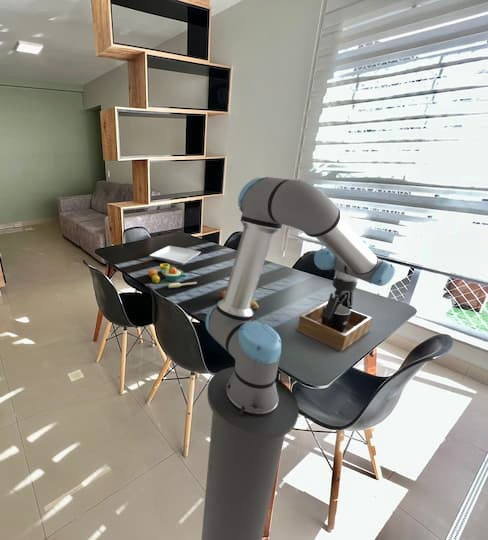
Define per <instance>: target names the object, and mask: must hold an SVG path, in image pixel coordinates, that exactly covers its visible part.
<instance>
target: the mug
mask: <svg viewBox="0 0 488 540" xmlns="http://www.w3.org/2000/svg"><path fill="white" fill-rule="evenodd" d="M326 305H327V304H326ZM326 305H325V306H324V309H323V312H324V310H325V308H326ZM350 314H351V311H350V310H349V309H348V308H346V307H344V306H342V304H341V305H339V306H338V308H337V310H336V312H335V313H334V316H333V317H332V319H333V321H332V325H331V328H332V329H334V330H336V331H339V332H341V333H342V332H343V331H344V329H345V327H346V325H347V322H348V320H349V317H350ZM323 322H324V318H323V317H322V324H323Z"/></svg>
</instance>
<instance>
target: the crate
mask: <svg viewBox="0 0 488 540" xmlns="http://www.w3.org/2000/svg"><path fill="white" fill-rule="evenodd" d="M328 301H329V300H327V301H325V302H324V303H321V304H320V305H318V306H316V307H314V308H312V309H311V310H309V311H307V312H304V313H303V314H301V315H299V320H298V325H297V329H296V330H297V331H298V332H299V333H302V334H304V335H306V336H309V337H310V338H312V339H314V340H316V341H319V342H321V343H322V344H324V345H326V346H329V347H331V348H332V349H335V350H337V351H339V352H343V351H344V350H346V349H347V348H348V347H350V346H351V345H352V344H354V343H355V342H356V341H358V340H359V339H360V338H362V337H363V336H364V335H366V334H367V333H369V329H370V327H371V323H372V320H373V317H372V316H370V315H367V314H365V313H361V312H358V311H356V310H353V309H351V310H350V309H349V310H350V311H351V314H350V317H349V320H348V322H347V325H346V327H345V329H344V331H343V332H342V333H341V332H339V331H336V330H334V329H332V328H329V327H327V326H325V325H323V324H322V315H323V309H324V306H325V305H326V304H327V303H328Z"/></svg>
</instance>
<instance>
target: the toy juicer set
mask: <svg viewBox="0 0 488 540" xmlns="http://www.w3.org/2000/svg"><path fill="white" fill-rule="evenodd" d="M170 266H171V265H170V263H167V262H165V263H160V264H159V269H160V273H161V274H162V275H163V277H164V278H165V279H166V280H167V281H168V282H171V283H168V284H167V287H168V289H177V288H180V287H183V286H188V285H189V286H190V285H197V284H198V283H197V282H198V281H191V282H185V283H181V282H178V280H180V279H181V278H186V277H187V273H186V272H184V271H183V270H181V269H180V268H179V269H178V268H176V267H175V266H172V267H170ZM148 277H149V278H151V281H152V283H154V284H158V283H159V282H160V281H161V277H160V276H159V273H158V271H157V270H156V266H154V267H153V268H152V269H151V270H150V271H149V272H148Z"/></svg>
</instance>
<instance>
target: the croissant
mask: <svg viewBox="0 0 488 540" xmlns="http://www.w3.org/2000/svg"><path fill="white" fill-rule="evenodd" d="M225 292H226V290H219V291H218V294H219V296H220V297H221V298H222V299H224V296H225ZM250 307H251V309H252V310H258V309H259V305H258V303H257V302H256V301H255V300H252V303H251V306H250Z"/></svg>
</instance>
